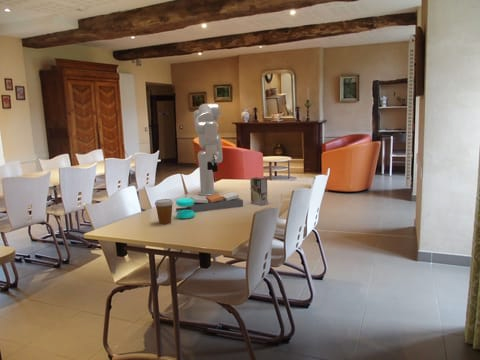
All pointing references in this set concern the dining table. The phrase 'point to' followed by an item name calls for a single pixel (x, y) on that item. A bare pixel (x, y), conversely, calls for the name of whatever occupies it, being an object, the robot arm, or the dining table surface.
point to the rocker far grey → (230, 196)
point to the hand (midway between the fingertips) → (212, 170)
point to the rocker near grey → (199, 199)
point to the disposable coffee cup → (164, 210)
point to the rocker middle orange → (214, 197)
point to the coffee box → (258, 191)
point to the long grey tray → (213, 205)
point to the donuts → (185, 203)
